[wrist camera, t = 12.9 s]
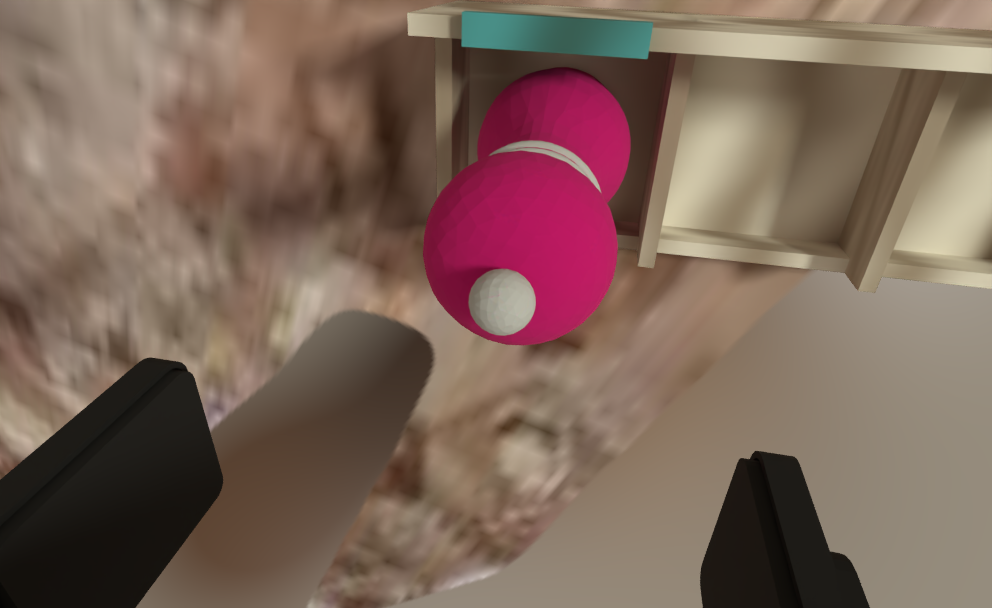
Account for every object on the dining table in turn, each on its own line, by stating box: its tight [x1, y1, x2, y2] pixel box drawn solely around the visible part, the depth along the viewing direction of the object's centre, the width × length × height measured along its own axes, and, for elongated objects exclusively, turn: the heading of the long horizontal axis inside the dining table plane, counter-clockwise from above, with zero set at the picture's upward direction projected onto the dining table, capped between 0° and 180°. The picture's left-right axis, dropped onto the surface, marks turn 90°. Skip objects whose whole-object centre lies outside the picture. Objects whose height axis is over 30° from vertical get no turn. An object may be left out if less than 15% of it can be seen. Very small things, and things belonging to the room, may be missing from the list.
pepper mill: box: [423, 67, 631, 345], centre depth 23 cm, size 7×7×20 cm
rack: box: [407, 0, 992, 293], centre depth 27 cm, size 33×12×9 cm, turn 87°
